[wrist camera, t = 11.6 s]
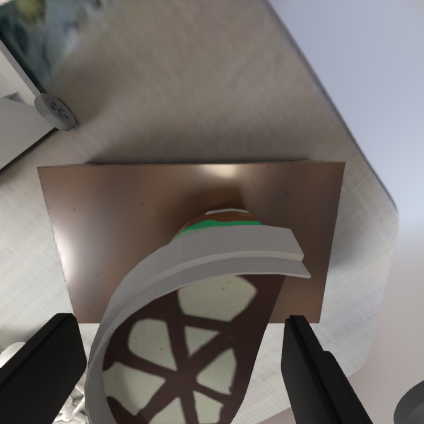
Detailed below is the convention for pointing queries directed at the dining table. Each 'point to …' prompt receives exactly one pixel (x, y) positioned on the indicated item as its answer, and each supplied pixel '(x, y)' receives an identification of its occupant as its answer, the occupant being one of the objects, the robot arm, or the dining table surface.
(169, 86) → the dining table surface
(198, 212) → the shelf
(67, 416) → the tangled rod sculpture
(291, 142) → the dining table surface
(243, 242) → the food container
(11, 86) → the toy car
